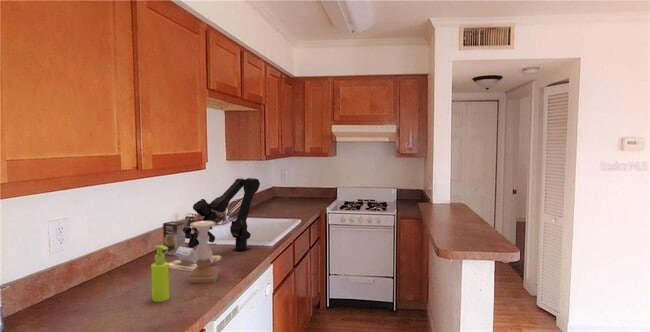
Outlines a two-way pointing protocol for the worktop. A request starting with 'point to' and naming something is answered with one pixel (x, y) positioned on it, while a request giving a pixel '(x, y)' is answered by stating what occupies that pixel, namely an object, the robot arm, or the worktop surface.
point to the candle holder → (203, 255)
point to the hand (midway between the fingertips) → (188, 249)
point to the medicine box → (186, 255)
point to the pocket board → (189, 264)
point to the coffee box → (173, 236)
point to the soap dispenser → (160, 276)
